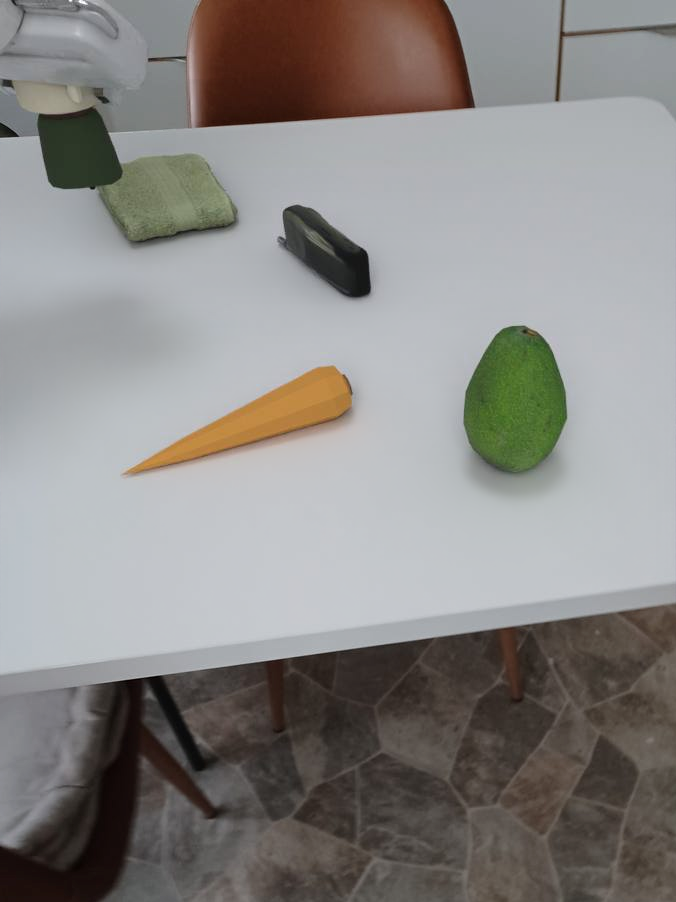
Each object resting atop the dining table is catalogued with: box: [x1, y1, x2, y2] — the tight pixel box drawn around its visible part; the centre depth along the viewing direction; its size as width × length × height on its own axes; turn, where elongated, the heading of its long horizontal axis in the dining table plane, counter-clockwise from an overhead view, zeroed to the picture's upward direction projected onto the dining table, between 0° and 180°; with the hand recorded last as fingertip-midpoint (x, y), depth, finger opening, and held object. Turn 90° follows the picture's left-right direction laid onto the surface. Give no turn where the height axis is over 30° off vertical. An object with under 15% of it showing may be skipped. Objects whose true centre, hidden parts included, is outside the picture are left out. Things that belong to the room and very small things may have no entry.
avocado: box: [462, 324, 568, 473], centre depth 73 cm, size 8×8×12 cm
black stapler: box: [276, 204, 372, 297], centre depth 97 cm, size 5×3×15 cm
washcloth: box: [96, 152, 239, 242], centre depth 107 cm, size 13×18×3 cm
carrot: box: [119, 365, 354, 476], centre depth 78 cm, size 20×4×4 cm, turn 119°
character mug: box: [12, 80, 123, 191], centre depth 80 cm, size 11×7×13 cm, turn 33°
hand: (66, 91), depth 80 cm, fingers closed on character mug, 7 cm apart
